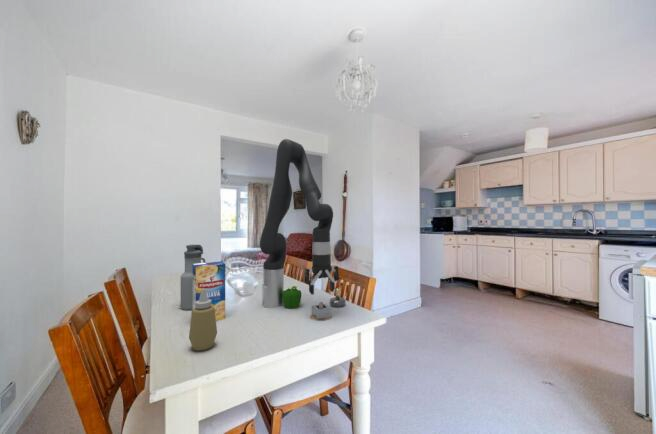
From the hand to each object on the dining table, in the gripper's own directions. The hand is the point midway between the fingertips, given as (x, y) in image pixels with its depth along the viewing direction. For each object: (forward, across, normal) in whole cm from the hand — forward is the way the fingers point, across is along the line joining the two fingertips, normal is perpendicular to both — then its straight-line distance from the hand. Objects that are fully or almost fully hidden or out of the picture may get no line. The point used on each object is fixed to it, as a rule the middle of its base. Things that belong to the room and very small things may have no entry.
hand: (322, 292), depth 108 cm
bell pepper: (+10, +8, -16) cm, 21 cm away
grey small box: (+10, 0, 0) cm, 10 cm away
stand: (+10, 0, 0) cm, 10 cm away
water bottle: (+9, +49, -35) cm, 61 cm away
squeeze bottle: (+10, +44, +8) cm, 45 cm away
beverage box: (+10, +42, -16) cm, 46 cm away
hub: (+10, -12, -10) cm, 19 cm away
